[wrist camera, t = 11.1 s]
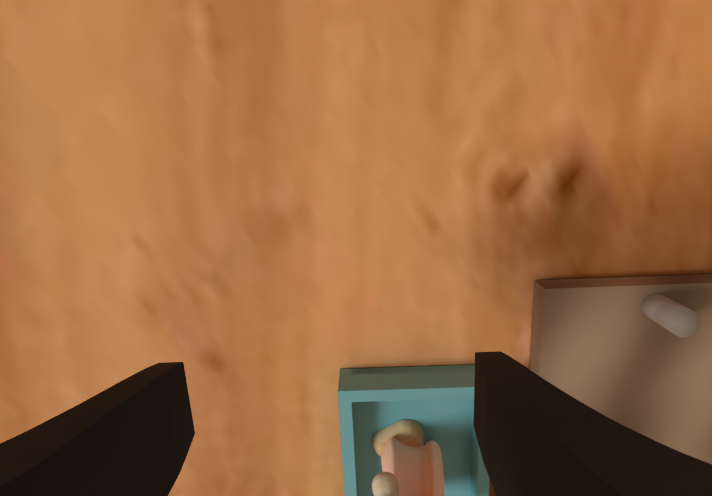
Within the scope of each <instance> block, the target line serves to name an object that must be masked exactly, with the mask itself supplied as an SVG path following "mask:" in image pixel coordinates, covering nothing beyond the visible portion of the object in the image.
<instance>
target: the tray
mask: <svg viewBox="0 0 712 496" xmlns="http://www.w3.org/2000/svg"><path fill="white" fill-rule="evenodd" d="M474 383H475V364H474V365H443V366H412V367H381V368H350V369H340V377H339V387H338V398H339V414H340V430H341V445H342V461H343V477H344V492H345V496H374V494H373V491H372V482H373V479H374V477H375V476H376V475H377V474H379V473H381V472H383V470H382V463H381V457H380V456H379V455H378V454H377V453H376V452H375V450H374V448H373V445H372V438H373V436H374V434H375V433H376V432H378V431H380V430H381V429H383V428H385V427H387V426H389V425H391V424H393V423H395V422H397V421H399V420H403V419H410V420H413V421H415V422H417V423H418V424H419V425H420V426H421V427H422V429H423V432H424V435H425V440H424V445H426V443H427V442H429V441H431V440H433V441H435V442H437V443H438V445H439V447H440V449H441V452H442V461H443V474H444V496H489V483H490V478H489V476H488V473H487V471H486V468H485V466H484V463H483V459H482V456H481V452H480V449H479V445H478V441H477V437H476V433H475V430H474V426H473V421H474Z"/></svg>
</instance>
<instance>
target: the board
mask: <svg viewBox="0 0 712 496" xmlns="http://www.w3.org/2000/svg"><path fill="white" fill-rule="evenodd" d="M529 370H531V371H532V372H534V373H535V374H537V375H538V376H540V377H542V378H543V379H545V380H546V381H548V382H549V383H551V384H552V385H554V386H556V387H557V388H559V389H560V390H562V391H563V392H565V393H567V394H568V395H570V396H572V397H573V398H575V399H577V400H578V401H580V402H582V403H583V404H585V405H587V406H589V407H590V408H592V409H594V410H596V411H598V412H599V413H601V414H603V415H605V416H606V417H608V418H610V419H612V420H614V421H616V422H618V423H620V424H622V425H624V426H625V427H628V428H630V429H632V430H634V431H636V432H638V433H640V434H642V435H644V436H646V437H648V438H651V439H653V440H655V441H657V442H659V443H661V444H663V445H666V446H668V447H670V448H672V449H675V450H677V451H679V452H682V453H684V454H687V455H689V456H692V457H694V458H697V459H699V460H702V461H704V462H707V463H709V464H711V465H712V274H690V275H664V276H637V277H610V278H584V279H557V280H535V282H534V298H533V314H532V330H531V346H530V362H529Z"/></svg>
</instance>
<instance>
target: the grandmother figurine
mask: <svg viewBox="0 0 712 496" xmlns="http://www.w3.org/2000/svg"><path fill="white" fill-rule="evenodd" d="M424 440H425V435H424V432H423V429H422V427H421V426H420V425H419V424H418V423H417V422H415V421H413V420H410V419H403V420H399V421H397V422H395V423H393V424H391V425H389V426H387V427H385V428H383V429H381V430H380V431H378V432H376V433H375V434H374V436H373V438H372V445H373V448H374V450H375V452H376V453H377V454H378V455H379V456H380V457H381V463H382V470H383V472H381V473H379V474H377V475H376V476H375V477H374V479H373V482H372V491H373V494H374V496H444V474H443V461H442V452H441V449H440V447H439V445H438V443H437V442H435V441H433V440H431V441H429V442H427V443H426V445H424Z"/></svg>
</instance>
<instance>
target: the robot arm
mask: <svg viewBox="0 0 712 496" xmlns="http://www.w3.org/2000/svg"><path fill="white" fill-rule="evenodd" d="M473 426H474V430H475V433H476V437H477V441H478V445H479V449H480V452H481V456H482V459H483V463H484V466H485V468H486V471H487V473H488V476H489V478H490V481H491V483H492V485H493V488H494V490H495V493H496V495H497V496H712V465H711V464H709V463H707V462H704V461H702V460H699V459H697V458H694V457H692V456H689V455H687V454H684V453H682V452H679V451H677V450H675V449H672V448H670V447H668V446H666V445H663V444H661V443H659V442H657V441H655V440H653V439H651V438H648V437H646V436H644V435H642V434H640V433H638V432H636V431H634V430H632V429H630V428H628V427H625V426H624V425H622V424H620V423H618V422H616V421H614V420H612V419H610V418H608V417H606V416H605V415H603V414H601V413H599V412H598V411H596V410H594V409H592V408H590V407H589V406H587V405H585V404H583V403H582V402H580V401H578V400H577V399H575V398H573V397H572V396H570V395H568V394H567V393H565V392H563V391H562V390H560V389H559V388H557V387H556V386H554V385H552V384H551V383H549V382H548V381H546V380H545V379H543V378H542V377H540V376H538V375H537V374H535V373H534V372H532V371H531V370H529V369H528V368H526V367H525V366H523V365H522V364H520V363H519V362H517V361H516V360H514V359H513V358H511V357H509V356H508V355H506V354H504V353H502V352H475V383H474V421H473ZM194 434H195V432H194V425H193V419H192V413H191V407H190V401H189V395H188V389H187V383H186V377H185V370H184V364H183V362H172V363H158V364H155V365H153V366H150V367H148V368H146V369H144V370H142V371H140V372H138V373H136V374H134V375H132V376H130V377H128V378H127V379H125V380H123V381H121V382H119V383H117V384H116V385H114V386H112V387H110V388H108V389H106V390H105V391H103V392H101V393H99V394H97V395H95V396H94V397H92V398H90V399H88V400H86V401H85V402H83V403H81V404H79V405H77V406H75V407H73V408H71V409H69V410H67V411H66V412H64V413H62V414H60V415H58V416H56V417H54V418H52V419H50V420H48V421H46V422H44V423H42V424H40V425H38V426H36V427H34V428H32V429H30V430H28V431H26V432H24V433H22V434H20V435H18V436H16V437H14V438H12V439H9V440H7V441H5V442H3V443H1V444H0V496H168V494H169V492H170V490H171V489H172V487H173V485H174V483H175V481H176V479H177V477H178V475H179V473H180V471H181V468H182V466H183V463H184V461H185V459H186V456H187V453H188V451H189V448H190V445H191V442H192V440H193V437H194Z"/></svg>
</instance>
